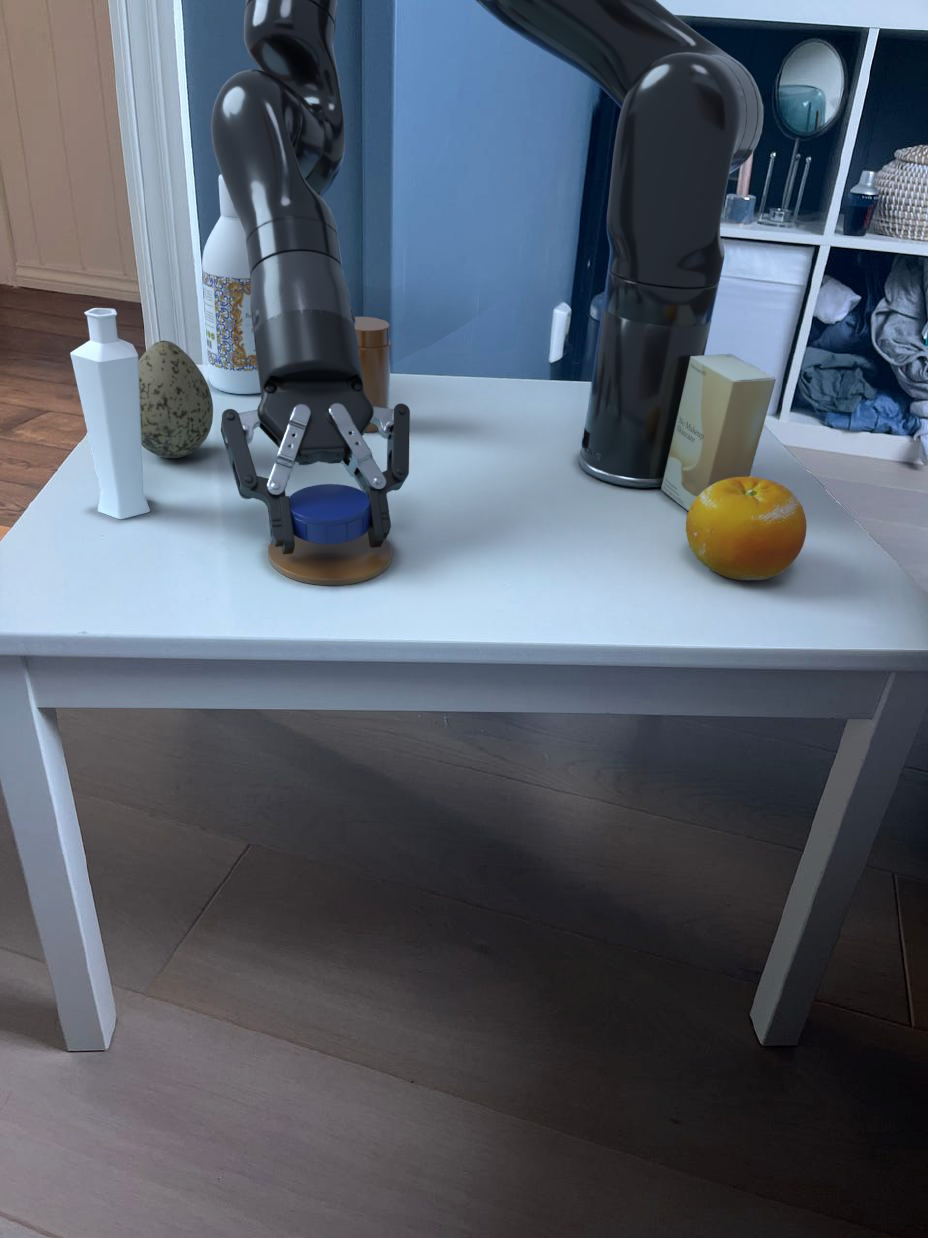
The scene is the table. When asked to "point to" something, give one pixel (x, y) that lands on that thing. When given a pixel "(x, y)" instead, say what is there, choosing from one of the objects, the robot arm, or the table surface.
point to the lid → (330, 513)
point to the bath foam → (229, 304)
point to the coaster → (332, 561)
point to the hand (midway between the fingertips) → (333, 546)
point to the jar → (374, 360)
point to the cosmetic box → (716, 425)
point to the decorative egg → (172, 402)
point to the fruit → (746, 528)
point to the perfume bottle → (112, 414)
